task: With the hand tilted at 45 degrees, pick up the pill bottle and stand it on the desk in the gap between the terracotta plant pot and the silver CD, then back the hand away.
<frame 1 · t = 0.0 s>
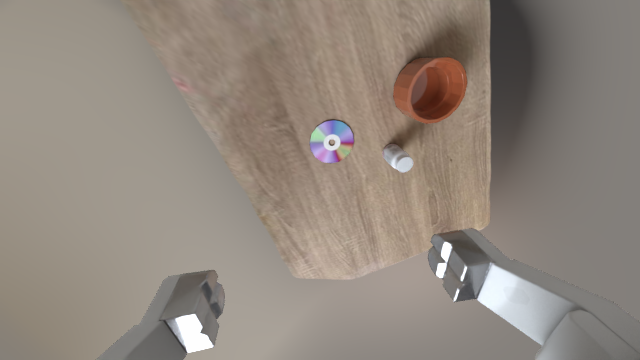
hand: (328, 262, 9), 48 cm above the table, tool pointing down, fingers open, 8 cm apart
pot: (418, 88, 54), on the table
cd: (331, 142, 57), on the table
pill bottle: (390, 151, 61), on the table
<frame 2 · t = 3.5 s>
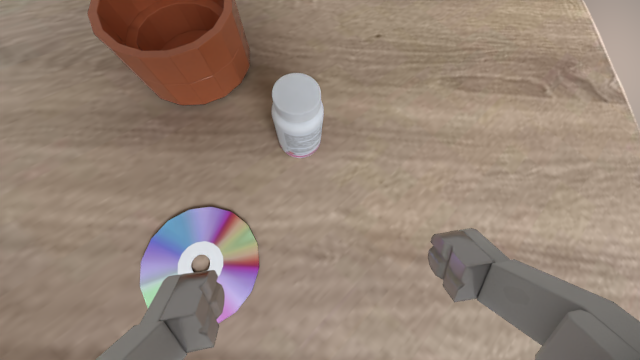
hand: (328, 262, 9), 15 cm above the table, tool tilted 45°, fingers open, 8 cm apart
pot: (199, 63, 29), on the table
cd: (201, 264, 22), on the table
pill bottle: (300, 140, 27), on the table
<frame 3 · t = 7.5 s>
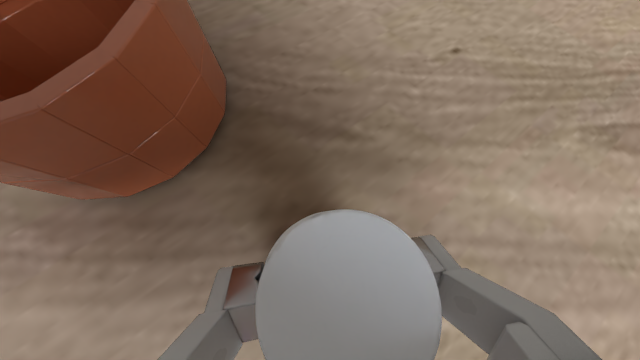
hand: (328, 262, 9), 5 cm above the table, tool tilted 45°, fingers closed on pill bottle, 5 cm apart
pot: (131, 106, 15), on the table
pill bottle: (324, 268, 13), on the table, touching gripper
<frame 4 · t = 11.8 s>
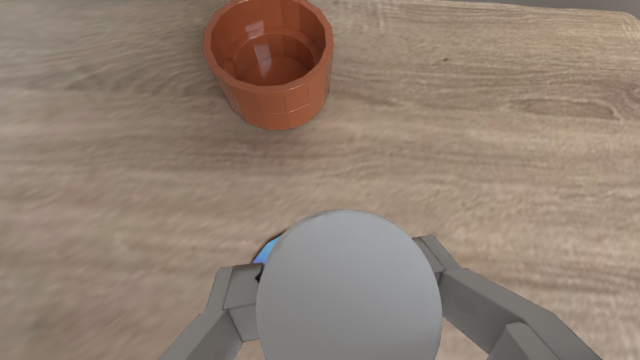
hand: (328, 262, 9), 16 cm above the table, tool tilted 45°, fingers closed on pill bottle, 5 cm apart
pot: (278, 88, 30), on the table
pill bottle: (325, 268, 13), point 11 cm above the table, touching gripper
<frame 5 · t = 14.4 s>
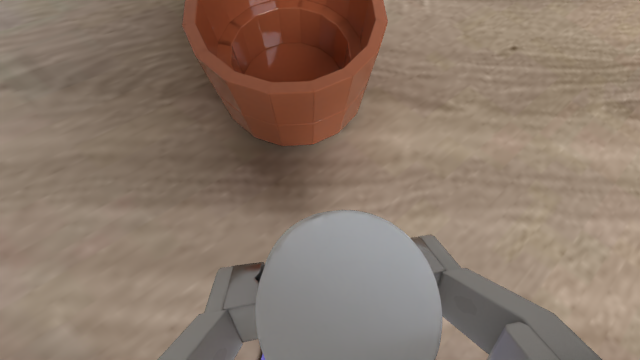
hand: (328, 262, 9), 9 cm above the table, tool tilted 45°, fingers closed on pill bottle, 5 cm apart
pot: (294, 86, 22), on the table
pill bottle: (324, 268, 13), point 5 cm above the table, touching gripper
when the fingers open (4 cm above the table, at t = 16.4 s): pill bottle stays where it is, on the table.
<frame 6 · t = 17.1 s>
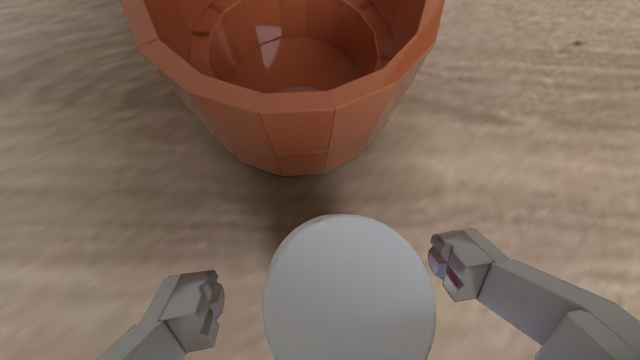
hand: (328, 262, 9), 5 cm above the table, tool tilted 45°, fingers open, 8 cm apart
pot: (298, 93, 16), on the table
pill bottle: (326, 269, 13), on the table
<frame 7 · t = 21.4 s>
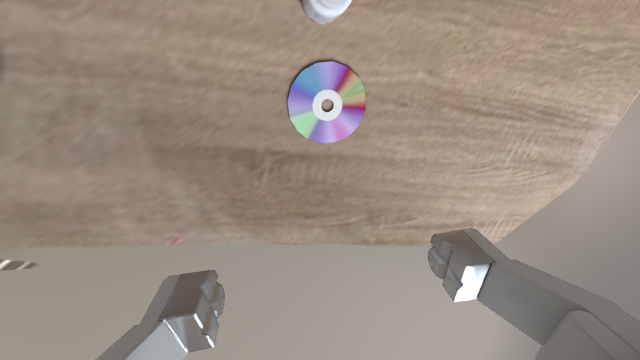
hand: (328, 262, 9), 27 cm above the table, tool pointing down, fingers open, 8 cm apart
cd: (327, 105, 32), on the table
pill bottle: (321, 0, 27), on the table
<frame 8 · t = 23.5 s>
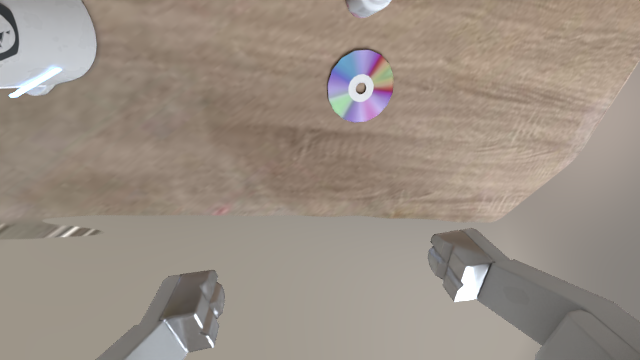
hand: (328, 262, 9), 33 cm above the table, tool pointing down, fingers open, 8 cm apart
cd: (360, 88, 38), on the table
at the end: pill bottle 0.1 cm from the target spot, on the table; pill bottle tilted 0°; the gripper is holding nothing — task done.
